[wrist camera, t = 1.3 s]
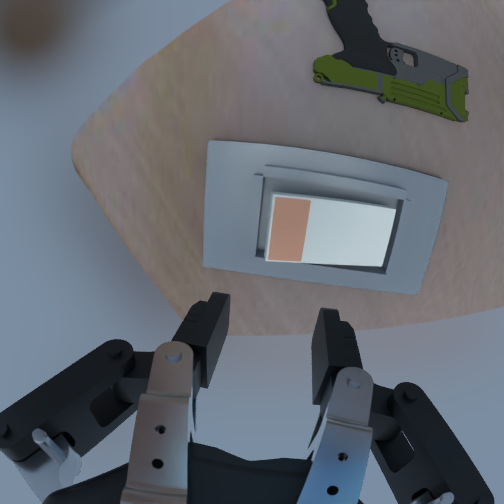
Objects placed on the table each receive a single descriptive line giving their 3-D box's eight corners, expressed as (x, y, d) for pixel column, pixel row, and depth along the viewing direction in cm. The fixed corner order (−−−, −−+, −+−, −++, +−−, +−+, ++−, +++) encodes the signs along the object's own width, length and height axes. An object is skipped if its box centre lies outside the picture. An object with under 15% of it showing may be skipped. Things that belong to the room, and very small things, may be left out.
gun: (455, 26, 17) (460, 128, 23) (312, -14, 19) (312, 93, 25) (464, 21, 14) (471, 129, 21) (314, -24, 16) (314, 89, 22)
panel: (440, 178, 25) (457, 184, 21) (411, 286, 30) (422, 303, 27) (213, 140, 27) (201, 140, 24) (207, 259, 33) (197, 274, 29)
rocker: (390, 206, 24) (396, 209, 23) (376, 261, 27) (382, 267, 25) (271, 191, 23) (273, 194, 22) (264, 255, 26) (265, 261, 24)
